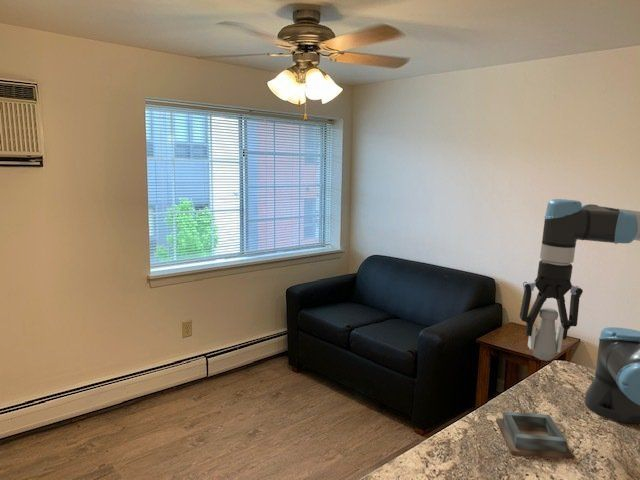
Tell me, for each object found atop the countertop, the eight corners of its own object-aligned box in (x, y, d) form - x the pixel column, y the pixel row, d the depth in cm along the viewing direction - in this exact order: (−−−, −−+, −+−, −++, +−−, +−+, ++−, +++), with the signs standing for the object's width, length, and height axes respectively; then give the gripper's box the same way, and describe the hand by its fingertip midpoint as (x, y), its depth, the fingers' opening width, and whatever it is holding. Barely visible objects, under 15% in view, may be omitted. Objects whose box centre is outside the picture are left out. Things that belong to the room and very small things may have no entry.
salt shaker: (557, 363, 117) (564, 314, 115) (532, 360, 119) (539, 311, 116) (552, 354, 123) (559, 307, 120) (528, 351, 124) (535, 304, 122)
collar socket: (551, 425, 122) (552, 412, 122) (573, 459, 108) (575, 445, 108) (495, 420, 124) (497, 408, 123) (510, 453, 110) (512, 440, 109)
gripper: (590, 261, 118) (577, 347, 122) (512, 255, 121) (502, 339, 125) (603, 268, 111) (588, 359, 115) (519, 261, 114) (508, 350, 118)
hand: (543, 348), depth 120 cm, fingers closed on salt shaker, 6 cm apart
